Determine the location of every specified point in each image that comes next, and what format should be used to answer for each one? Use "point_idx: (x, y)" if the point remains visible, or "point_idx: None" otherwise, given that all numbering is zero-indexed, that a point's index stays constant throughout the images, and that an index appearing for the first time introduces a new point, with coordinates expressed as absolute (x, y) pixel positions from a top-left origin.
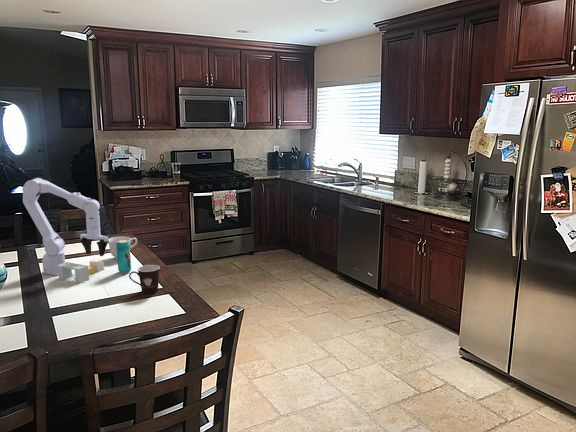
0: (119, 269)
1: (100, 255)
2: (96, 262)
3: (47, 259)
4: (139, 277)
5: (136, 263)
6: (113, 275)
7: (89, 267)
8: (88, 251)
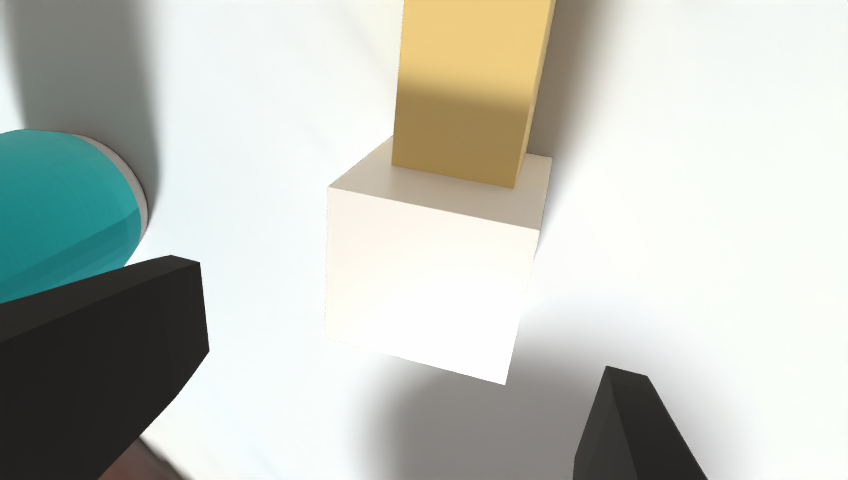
0: (43, 139)
1: (166, 263)
2: (359, 189)
3: None
4: None
5: (206, 460)
6: (116, 44)
7: (465, 49)
8: (599, 457)
